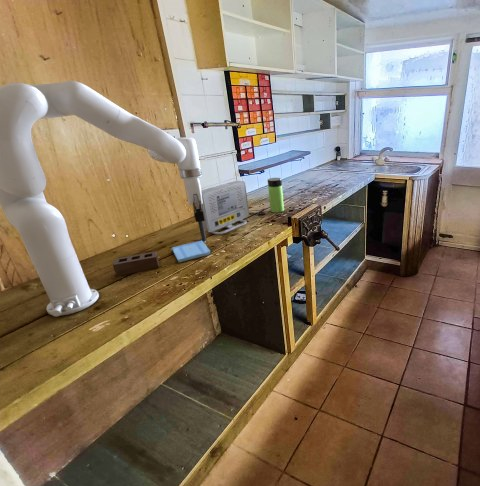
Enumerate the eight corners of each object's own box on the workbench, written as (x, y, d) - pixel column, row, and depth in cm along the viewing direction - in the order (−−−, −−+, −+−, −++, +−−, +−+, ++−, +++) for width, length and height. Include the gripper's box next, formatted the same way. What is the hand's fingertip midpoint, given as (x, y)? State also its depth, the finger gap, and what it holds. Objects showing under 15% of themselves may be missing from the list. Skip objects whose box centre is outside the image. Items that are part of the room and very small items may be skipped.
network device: (241, 217, 162) (235, 179, 153) (254, 220, 157) (248, 180, 149) (200, 234, 142) (191, 191, 134) (213, 237, 138) (205, 193, 130)
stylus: (206, 242, 125) (199, 206, 119) (202, 243, 125) (195, 207, 118) (206, 241, 126) (199, 205, 120) (202, 242, 126) (194, 206, 120)
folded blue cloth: (211, 254, 123) (210, 251, 122) (178, 262, 117) (177, 259, 116) (202, 242, 133) (202, 240, 132) (172, 250, 127) (171, 247, 126)
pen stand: (159, 267, 113) (155, 256, 112) (116, 276, 109) (112, 265, 107) (159, 261, 118) (156, 251, 116) (118, 269, 113) (115, 258, 111)
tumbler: (268, 210, 172) (265, 178, 165) (281, 207, 175) (278, 176, 168) (273, 213, 166) (269, 181, 159) (286, 211, 169) (283, 179, 162)
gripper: (179, 170, 119) (188, 216, 127) (180, 178, 106) (190, 228, 114) (199, 168, 122) (208, 213, 130) (203, 175, 109) (212, 225, 116)
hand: (200, 220), depth 122 cm, fingers closed on stylus, 1 cm apart
